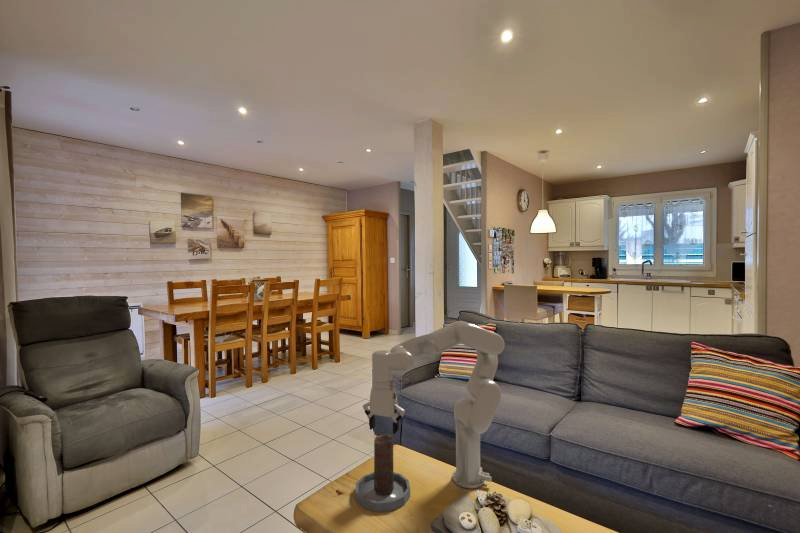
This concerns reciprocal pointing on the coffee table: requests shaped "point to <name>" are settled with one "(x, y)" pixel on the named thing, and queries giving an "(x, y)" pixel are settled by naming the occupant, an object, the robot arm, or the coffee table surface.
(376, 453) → the mottled brown cylinder
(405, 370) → the robot arm
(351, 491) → the coffee table surface
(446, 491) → the coffee table surface
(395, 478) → the round tray
